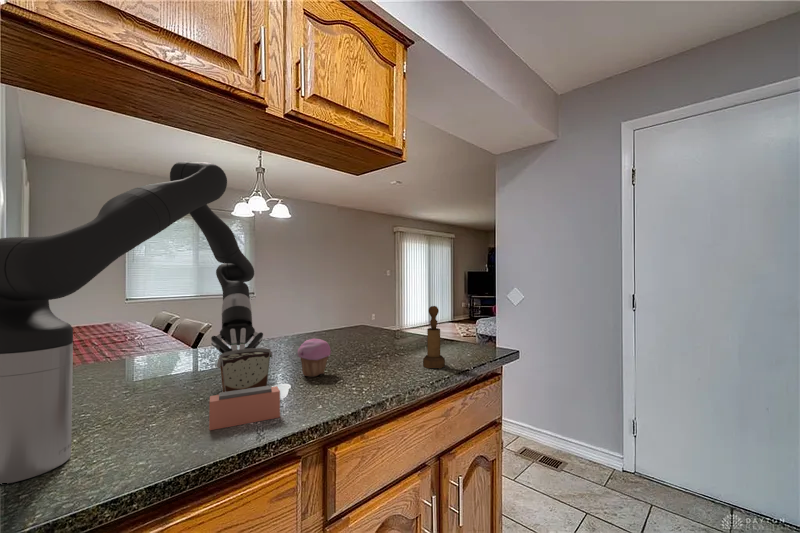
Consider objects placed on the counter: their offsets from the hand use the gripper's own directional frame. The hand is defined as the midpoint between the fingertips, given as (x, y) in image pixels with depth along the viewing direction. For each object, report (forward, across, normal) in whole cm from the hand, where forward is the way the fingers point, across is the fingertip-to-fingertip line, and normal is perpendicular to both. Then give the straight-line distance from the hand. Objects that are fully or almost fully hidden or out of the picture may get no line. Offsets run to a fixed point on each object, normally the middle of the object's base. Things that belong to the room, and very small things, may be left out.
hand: (238, 367), depth 86 cm
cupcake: (+2, +19, +5) cm, 20 cm away
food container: (+8, 0, -1) cm, 8 cm away
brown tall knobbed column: (+8, +53, -1) cm, 54 cm away
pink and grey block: (+19, 0, -12) cm, 23 cm away
